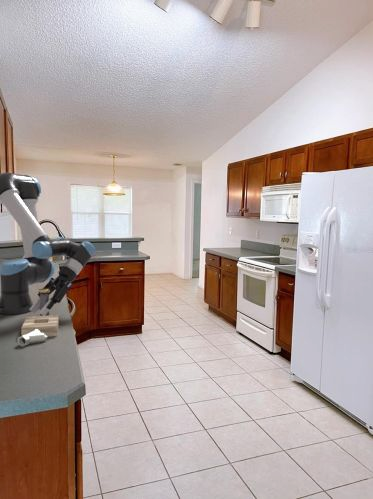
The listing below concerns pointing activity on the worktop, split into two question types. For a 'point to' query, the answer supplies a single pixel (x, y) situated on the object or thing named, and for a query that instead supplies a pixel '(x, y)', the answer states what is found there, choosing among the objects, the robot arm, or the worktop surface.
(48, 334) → the socket block
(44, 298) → the gold-capped peg
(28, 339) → the pipe fitting
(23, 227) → the robot arm
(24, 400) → the worktop surface
